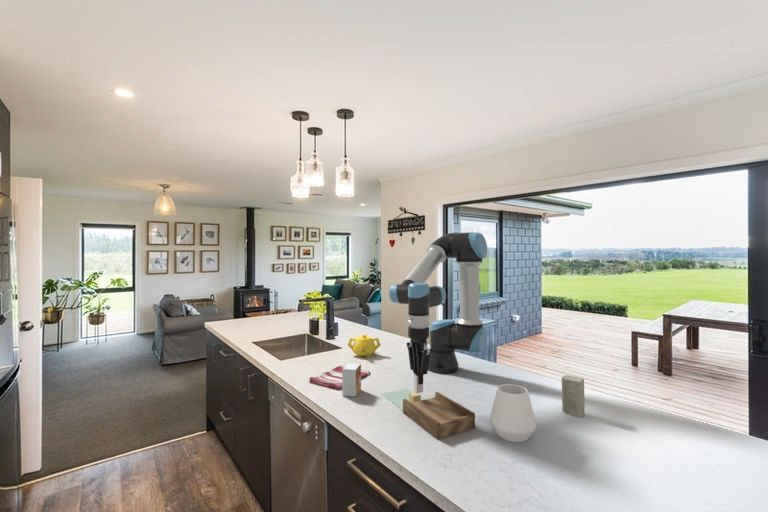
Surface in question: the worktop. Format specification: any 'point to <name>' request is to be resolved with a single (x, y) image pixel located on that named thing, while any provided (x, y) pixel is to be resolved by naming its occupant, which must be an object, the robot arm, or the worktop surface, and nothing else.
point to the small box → (351, 380)
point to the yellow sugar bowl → (364, 345)
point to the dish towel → (333, 378)
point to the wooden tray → (440, 416)
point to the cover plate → (402, 397)
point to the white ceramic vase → (512, 413)
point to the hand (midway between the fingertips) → (418, 391)
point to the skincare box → (573, 395)
